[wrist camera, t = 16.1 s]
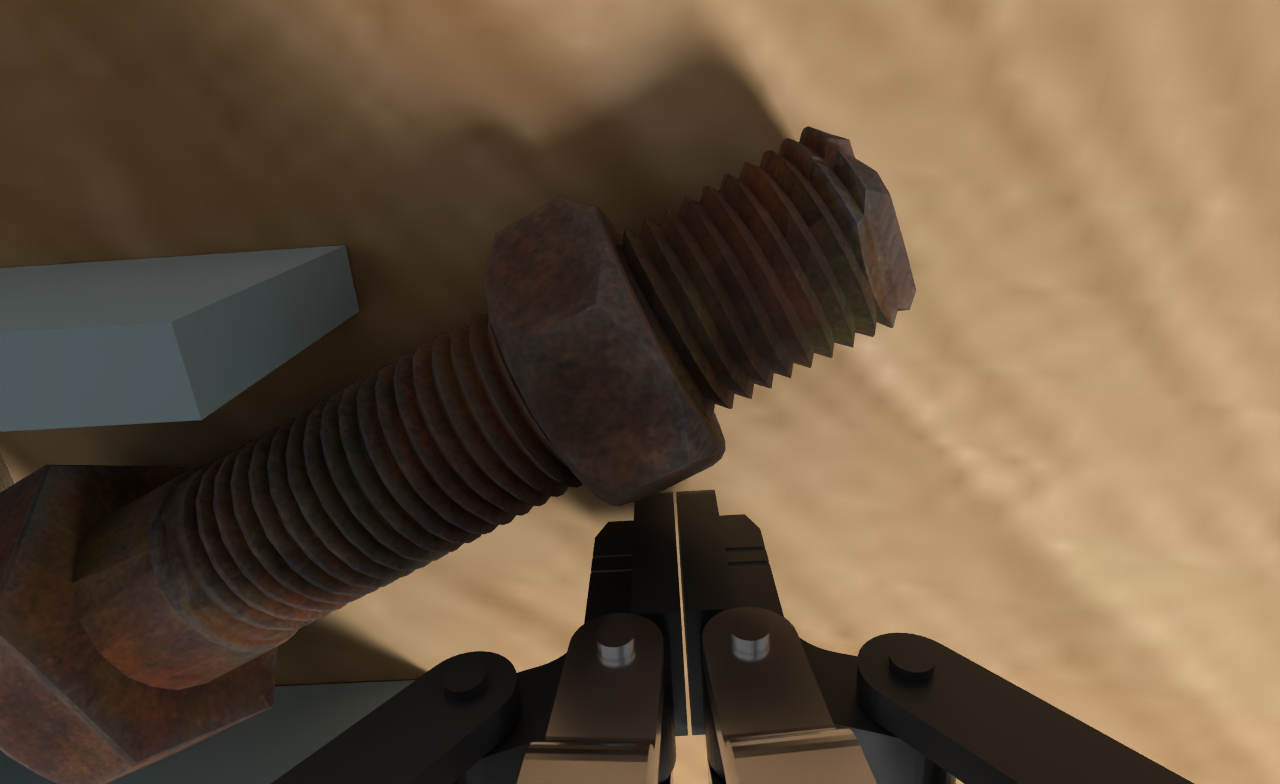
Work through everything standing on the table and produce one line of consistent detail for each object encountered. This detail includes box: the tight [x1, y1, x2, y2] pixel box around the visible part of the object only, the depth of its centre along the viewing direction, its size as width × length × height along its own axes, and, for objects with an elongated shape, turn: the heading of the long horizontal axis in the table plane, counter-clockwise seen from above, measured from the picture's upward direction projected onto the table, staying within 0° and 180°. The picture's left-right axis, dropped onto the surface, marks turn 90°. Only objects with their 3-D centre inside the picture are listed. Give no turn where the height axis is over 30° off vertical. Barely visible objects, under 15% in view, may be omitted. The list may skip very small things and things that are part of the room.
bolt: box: [0, 126, 916, 784], centre depth 12 cm, size 6×5×15 cm
